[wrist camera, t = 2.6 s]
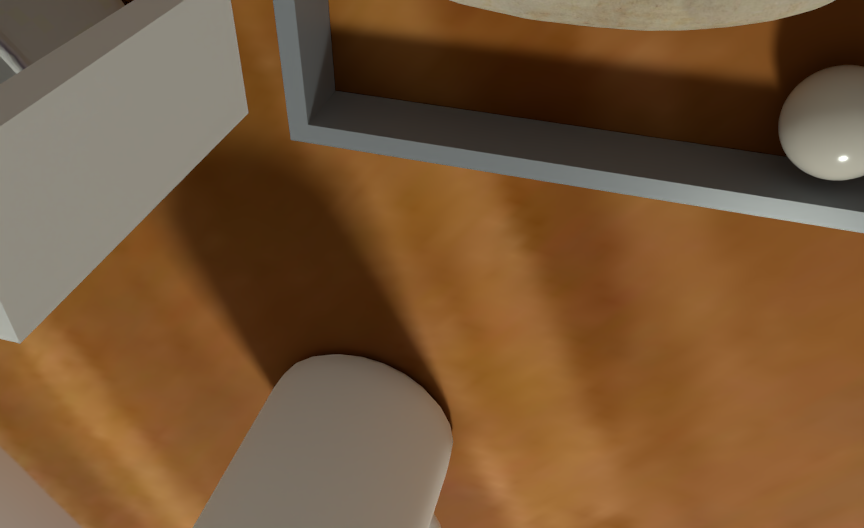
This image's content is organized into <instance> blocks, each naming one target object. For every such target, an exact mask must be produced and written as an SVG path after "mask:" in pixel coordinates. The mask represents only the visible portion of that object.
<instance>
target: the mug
mask: <svg viewBox="0 0 864 528" xmlns="http://www.w3.org/2000/svg"><path fill="white" fill-rule="evenodd" d="M452 445H453V438H452V432H451V426H450V424H449V422H448V420H447V418H446V416H445V414H444V412H443V411H442V409H441V407H440V406H439V405H438V404H437V402H436V401H435V400H434V399H433V398H432V397H431V396H430V395H429V394H428V393H427V391H426V390H425V389H424V388H423V387H422V386H421V385H419V384H418V383H417V382H415V381H414V380H412V379H411V378H410V377H408V376H407V375H406V374H404V373H402V372H400V371H398V370H396V369H394V368H392V367H390V366H388V365H386V364H384V363H381V362H378V361H375V360H372V359H368V358H365V357H362V356H353V355H344V354H333V355H323V356H313V357H310V358H308V359H305V360H303V361H300V362H297V363H296V364H294V365H293V366H292V367H291V368H290V369H289V370H288V371H287V372H285V373H284V375H283V376H282V377H281V379H280V380H279V381H278V383H277V384H276V385H275V387H274V388H273V390H272V392H271V393H270V395H269V397H268V399H267V400H266V402H265V404H264V406H263V407H262V409H261V411H260V412H259V414H258V416H257V418H256V419H255V421H254V423H253V425H252V426H251V428H250V430H249V431H248V433H247V435H246V437H245V438H244V440H243V442H242V444H241V445H240V447H239V449H238V450H237V452H236V454H235V456H234V457H233V459H232V461H231V463H230V464H229V466H228V468H227V469H226V471H225V473H224V475H223V476H222V478H221V480H220V482H219V483H218V485H217V487H216V489H215V490H214V492H213V494H212V495H211V497H210V499H209V501H208V502H207V504H206V506H205V508H204V509H203V511H202V513H201V514H200V516H199V518H198V520H197V521H196V523H195V525H194V527H193V528H441V525H440V523H439V521H438V519H437V518H436V516H435V514H434V510H435V506H436V503H437V500H438V497H439V494H440V491H441V488H442V485H443V482H444V479H445V475H446V472H447V468H448V464H449V460H450V455H451V450H452Z"/></svg>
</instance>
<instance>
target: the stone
mask: <svg viewBox="0 0 864 528" xmlns="http://www.w3.org/2000/svg"><path fill="white" fill-rule="evenodd" d="M450 1H454V2H457V3H460V4H464V5H468V6H473V7H477V8H481V9H486V10H490V11H495V12H499V13H504V14H508V15H513V16H517V17H521V18H526V19H533V20H540V21H548V22H557V23H565V24H573V25H582V26H592V27H603V28H616V29H629V30H645V31H654V30H696V29H708V28H721V27H731V26H739V25H747V24H754V23H761V22H766V21H772V20H777V19H781V18H785V17H789V16H793V15H797V14H801V13H804V12H808V11H811V10H814V9H817V8H820V7H822V6H824V5H827V4H829V3H831V2H833V1H835V0H450Z"/></svg>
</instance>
